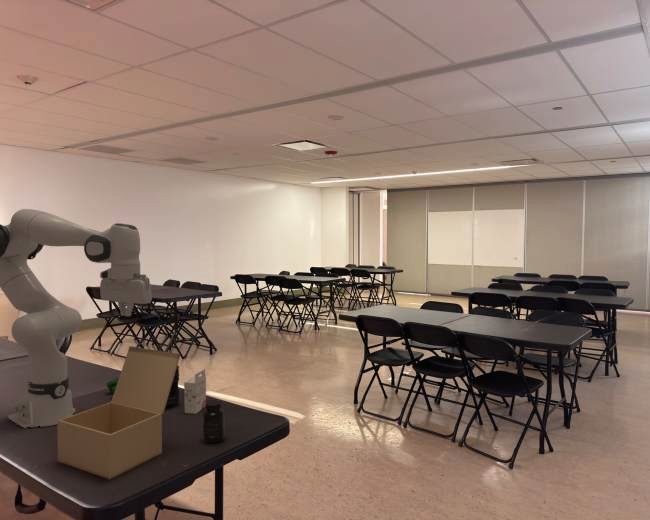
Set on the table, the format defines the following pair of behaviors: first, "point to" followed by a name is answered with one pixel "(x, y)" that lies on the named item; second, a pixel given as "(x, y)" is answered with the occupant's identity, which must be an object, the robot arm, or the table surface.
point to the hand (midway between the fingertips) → (126, 315)
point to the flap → (146, 379)
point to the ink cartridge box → (195, 393)
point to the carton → (109, 439)
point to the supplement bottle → (213, 422)
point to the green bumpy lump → (112, 385)
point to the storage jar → (173, 392)
